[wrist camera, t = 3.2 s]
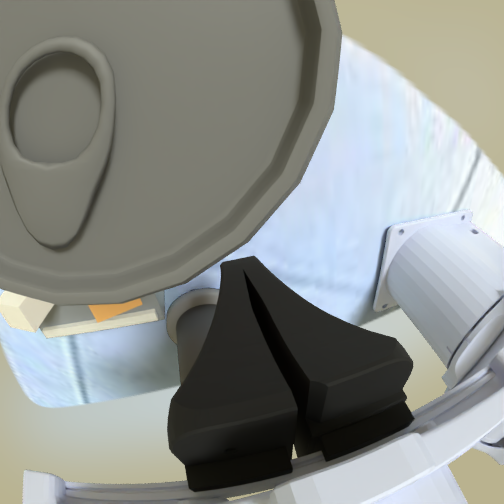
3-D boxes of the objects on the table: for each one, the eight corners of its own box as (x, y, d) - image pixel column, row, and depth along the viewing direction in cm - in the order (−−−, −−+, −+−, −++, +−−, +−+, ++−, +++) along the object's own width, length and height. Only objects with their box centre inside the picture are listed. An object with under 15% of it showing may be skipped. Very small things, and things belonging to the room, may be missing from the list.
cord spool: (238, 280, 19) (268, 372, 13) (247, 335, 22) (272, 417, 16) (156, 297, 18) (158, 393, 12) (177, 349, 21) (187, 434, 15)
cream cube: (40, 279, 12) (18, 307, 10) (54, 304, 13) (35, 332, 11) (15, 277, 12) (-6, 303, 10) (28, 301, 13) (10, 326, 11)
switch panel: (127, 164, 14) (117, 183, 11) (164, 290, 18) (164, 323, 16) (3, 204, 13) (-19, 227, 10) (55, 311, 17) (45, 341, 15)
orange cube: (122, 252, 13) (130, 274, 12) (133, 280, 14) (142, 304, 12) (79, 270, 12) (82, 295, 11) (92, 297, 13) (97, 323, 12)
